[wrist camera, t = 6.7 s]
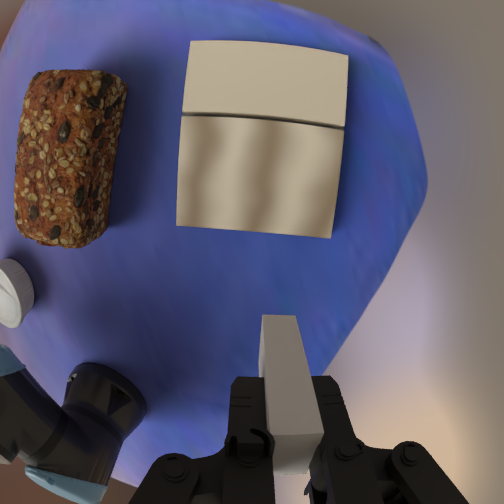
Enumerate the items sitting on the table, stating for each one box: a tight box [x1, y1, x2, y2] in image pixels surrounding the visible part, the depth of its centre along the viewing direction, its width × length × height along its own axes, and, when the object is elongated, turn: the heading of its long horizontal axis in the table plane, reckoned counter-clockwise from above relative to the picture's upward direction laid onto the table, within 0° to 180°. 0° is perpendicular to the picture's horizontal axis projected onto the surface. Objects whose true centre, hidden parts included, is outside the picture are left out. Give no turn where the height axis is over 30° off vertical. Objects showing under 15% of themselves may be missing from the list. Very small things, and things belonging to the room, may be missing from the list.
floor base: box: [182, 40, 348, 131], centre depth 27 cm, size 17×20×3 cm
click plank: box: [176, 116, 344, 238], centre depth 28 cm, size 16×11×2 cm
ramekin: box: [0, 259, 34, 328], centre depth 33 cm, size 11×11×5 cm
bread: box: [14, 69, 128, 249], centre depth 25 cm, size 19×11×10 cm, turn 167°
